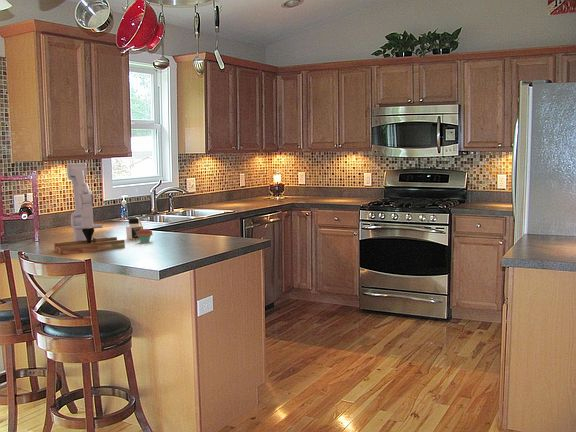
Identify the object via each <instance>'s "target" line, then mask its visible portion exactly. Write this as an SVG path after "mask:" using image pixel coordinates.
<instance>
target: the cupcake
mask: <svg viewBox="0 0 576 432" xmlns="http://www.w3.org/2000/svg"><path fill="white" fill-rule="evenodd" d="M140 226H141V230H139V231H138V232H137V233H136V235H137V236H138V237H139V239H138V240H139V242H140V243H149V242H150V239H151V236H153V232H152V230H151V229H149V228H143V229H142V226H143V225H142V221H140Z"/></svg>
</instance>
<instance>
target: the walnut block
mask: <svg viewBox="0 0 576 432" xmlns="http://www.w3.org/2000/svg"><path fill="white" fill-rule="evenodd" d="M108 238H109V237H107V236H105V235H103V236H94V237H93V236H92V239H93V243H97V242H106V241H108Z"/></svg>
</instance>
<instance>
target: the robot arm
mask: <svg viewBox="0 0 576 432" xmlns="http://www.w3.org/2000/svg"><path fill="white" fill-rule="evenodd" d="M87 173H88V165H87V163H86V162H75V163H70V162H68V163H67V164H66V176H67V179H68V180H70V181H71V184H72V191H73V199H74V200H73V201H74V208H75V210H74V211H73V212H72V213H71V214H70V226H71V228H72V231H73V241H82V240H87V243H91V239H93V235H94V233H95V229H103V228H104V227H103V224H102V223H99V224H98V223H96V224H94V212H93V211H94V210H93V209H94V208H93V204H94V196H93V193H92V191H90V186H89V184H88V183H87V182H86V177H87Z"/></svg>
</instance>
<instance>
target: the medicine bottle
mask: <svg viewBox="0 0 576 432" xmlns="http://www.w3.org/2000/svg"><path fill="white" fill-rule="evenodd" d="M140 222H141V221H140V218H139V217H137V216H136V217H135V216H134V217H129V218H128V225H127V226H125V231H126V239H128V240H131V241H133V240H139V237H138V236H137V235H136V233H137V232H138V231H139V230H141V225H140ZM142 229H144V226H143V225H142Z"/></svg>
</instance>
